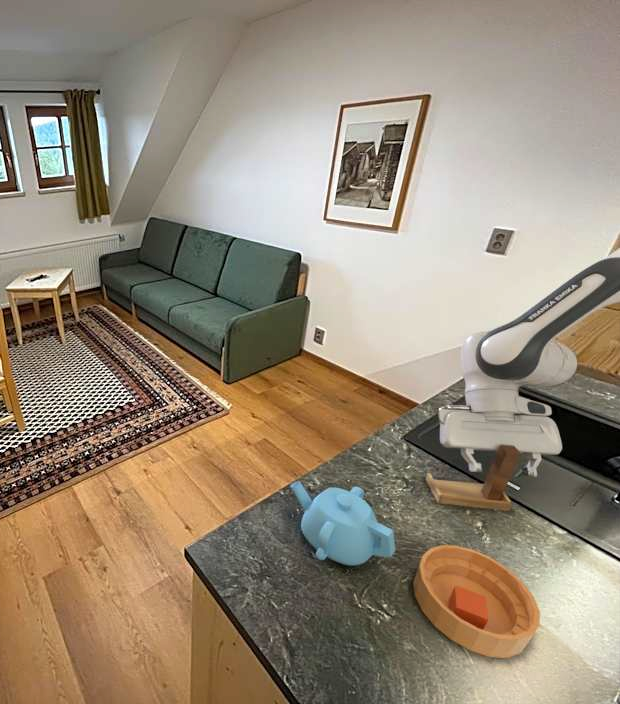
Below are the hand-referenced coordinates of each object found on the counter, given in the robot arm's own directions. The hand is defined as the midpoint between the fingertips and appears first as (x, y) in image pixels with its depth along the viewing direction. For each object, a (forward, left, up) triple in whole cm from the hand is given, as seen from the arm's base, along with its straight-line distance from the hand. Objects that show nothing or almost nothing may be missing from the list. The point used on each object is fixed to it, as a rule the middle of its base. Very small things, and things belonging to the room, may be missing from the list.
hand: (502, 474), depth 81 cm
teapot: (+37, -1, -8) cm, 38 cm away
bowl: (+24, +16, -8) cm, 30 cm away
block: (+26, +18, -7) cm, 32 cm away
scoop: (+4, -3, -8) cm, 9 cm away
